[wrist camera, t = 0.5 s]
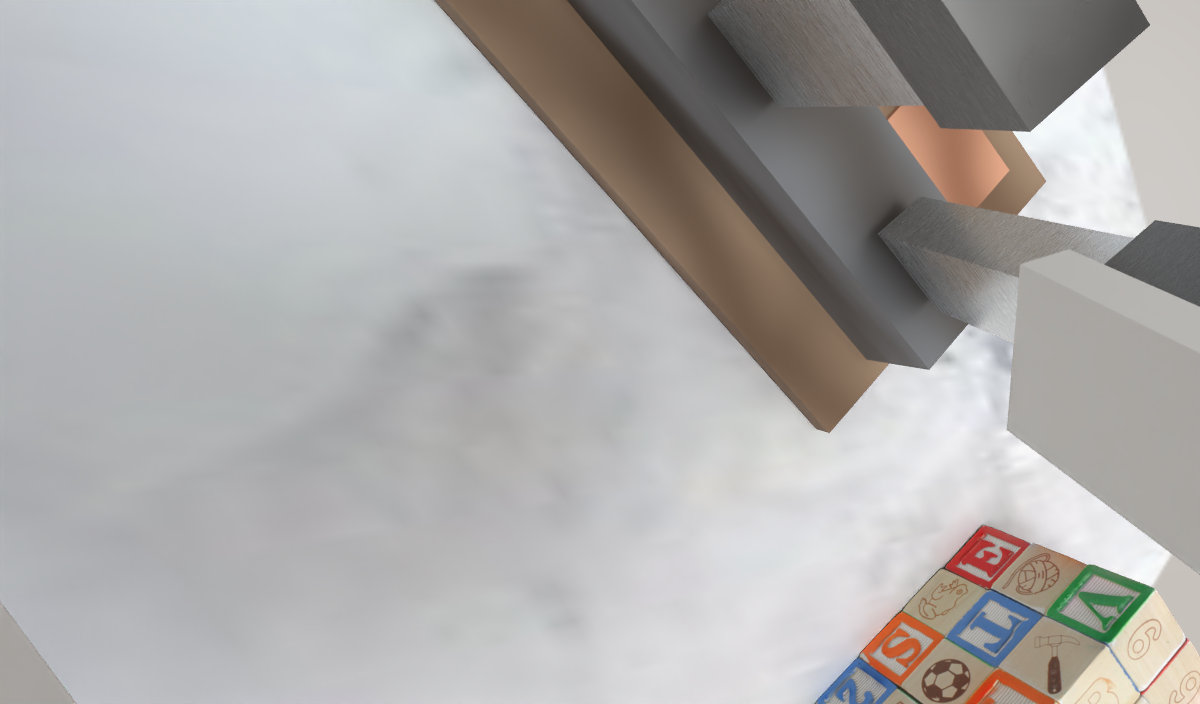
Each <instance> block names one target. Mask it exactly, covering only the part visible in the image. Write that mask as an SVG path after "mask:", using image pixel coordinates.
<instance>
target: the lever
mask: <svg viewBox="0 0 1200 704" xmlns="http://www.w3.org/2000/svg"><path fill="white" fill-rule="evenodd" d="M878 235H879V236H880V237H881V238H882V240H883V241H884V242H885V244H886V245H887V246H888V247H889V249H890V250H891V251H892V253H893V254H894V255H895V256H896V258H897V259H898V260H899V262H900V263H901V264H902V265H903V267H904V268H905V269H906V271H907V272H908V273H909V274H910V276H911V277H912V278H913V280H914V281H915V282H916V283H917V285H918V286H919V287H920V289H921V290H922V291H923V292H924V294H925V295H926V296H927V298H928V299H929V300H930V301H931V303H932V304H933V305H934V307H935V308H936V309H937V310H938V311H940V312H943V313H945V314H947V315H949V316H952V317H954V318H956V319H958V320H961V321H963V322H965V323H968V324H970V325H972V326H974V327H977V328H979V329H981V330H983V331H986V332H988V333H990V334H993V335H995V336H997V337H999V338H1002V339H1004V340H1006V341H1008V342H1011V343H1013V344H1014V334H1015V322H1016V309H1017V296H1018V284H1019V271H1020V264H1022V263H1025V262H1029V261H1032V260H1035V259H1039V258H1042V257H1045V256H1048V255H1052V254H1055V253H1058V252H1061V251H1065V250H1068V249H1070V250H1072V251H1074V252H1077V253H1079V254H1081V255H1083V256H1086V257H1088V258H1090V259H1093V260H1095V261H1097V262H1099V263H1102V264H1104V265H1106V266H1108V267H1111V268H1113V269H1115V270H1117V271H1120V272H1122V273H1124V274H1127V275H1129V276H1131V277H1133V278H1136V279H1138V280H1140V281H1142V282H1145V283H1147V284H1149V285H1151V286H1154V287H1156V288H1158V289H1161V290H1163V291H1165V292H1167V293H1170V294H1172V295H1174V296H1176V297H1179V298H1181V299H1183V300H1185V301H1188V302H1190V303H1192V304H1195V305H1197V306H1199V307H1200V228H1199V227H1193V226H1187V225H1181V224H1175V223H1169V222H1162V221H1156V220H1155V221H1154V222H1153V223H1152V224H1150V225H1149V226H1148V227H1147V228H1146V229H1145V230H1143V231H1142V232H1141V233H1140V234H1139V235H1138V236H1136V237H1135V238H1130V237H1125V236H1120V235H1115V234H1110V233H1105V232H1100V231H1095V230H1090V229H1084V228H1079V227H1074V226H1069V225H1064V224H1059V223H1054V222H1049V221H1044V220H1039V219H1033V218H1028V217H1023V216H1018V215H1013V214H1008V213H1003V212H998V211H993V210H987V209H982V208H977V207H972V206H967V205H962V204H957V203H952V202H947V201H942V200H936V199H931V198H926V197H921V196H919V197H918V198H917V199H916V200H915V201H914V202H913V203H912V204H911V205H909V206H908V207H907V208H906V209H905V210H904V211H903V212H902V213H900V214H899V215H898V216H897V217H896V218H895V219H894V220H893V221H891V222H890V223H889V224H888V225H887V226H886V227H885V228H884V229H883V230H881V231H880V232H879V233H878Z"/></svg>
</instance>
